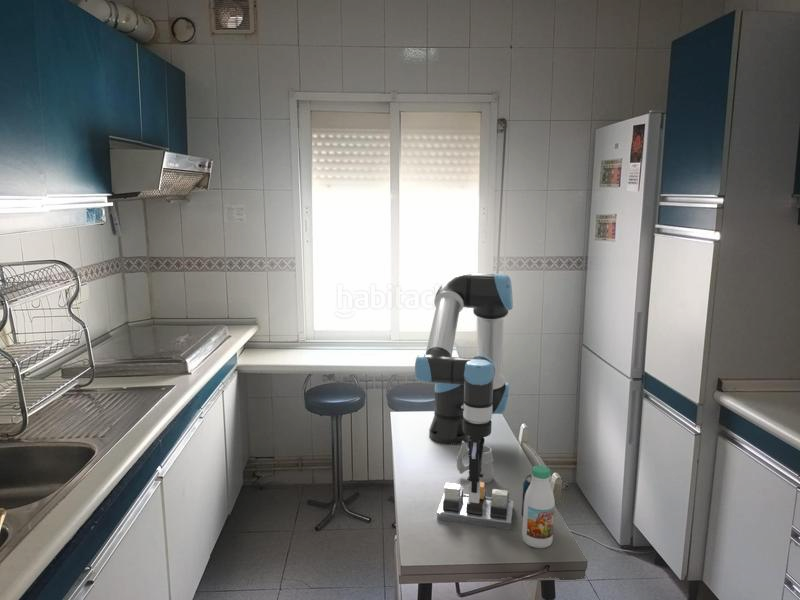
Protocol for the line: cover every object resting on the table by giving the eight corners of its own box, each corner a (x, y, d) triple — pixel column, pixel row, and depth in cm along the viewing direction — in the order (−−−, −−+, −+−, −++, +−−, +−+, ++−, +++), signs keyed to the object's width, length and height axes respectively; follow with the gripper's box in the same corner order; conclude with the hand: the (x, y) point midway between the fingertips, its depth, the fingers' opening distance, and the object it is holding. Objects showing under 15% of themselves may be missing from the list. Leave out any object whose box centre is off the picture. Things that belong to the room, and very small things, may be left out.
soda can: (519, 512, 164) (521, 473, 162) (543, 513, 164) (546, 473, 162) (524, 526, 157) (526, 485, 155) (549, 526, 157) (552, 485, 155)
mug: (493, 484, 180) (495, 448, 178) (455, 482, 181) (456, 446, 179) (492, 473, 187) (494, 438, 185) (455, 471, 188) (456, 436, 186)
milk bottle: (516, 540, 151) (519, 468, 147) (532, 528, 156) (536, 459, 153) (542, 553, 145) (546, 478, 142) (558, 540, 151) (562, 468, 147)
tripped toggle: (470, 492, 164) (470, 480, 164) (484, 494, 163) (484, 482, 163) (468, 497, 162) (469, 485, 161) (483, 499, 161) (483, 487, 160)
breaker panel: (444, 497, 171) (445, 470, 170) (513, 507, 167) (514, 479, 165) (437, 519, 160) (437, 490, 158) (510, 530, 155) (512, 500, 154)
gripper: (466, 408, 160) (463, 487, 164) (459, 426, 148) (456, 511, 152) (493, 411, 158) (490, 491, 162) (489, 429, 146) (485, 515, 150)
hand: (474, 501), depth 157 cm, fingers closed
